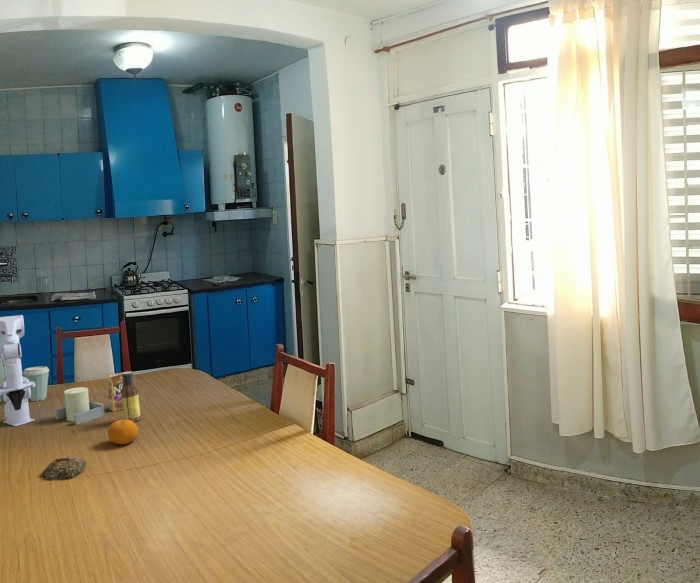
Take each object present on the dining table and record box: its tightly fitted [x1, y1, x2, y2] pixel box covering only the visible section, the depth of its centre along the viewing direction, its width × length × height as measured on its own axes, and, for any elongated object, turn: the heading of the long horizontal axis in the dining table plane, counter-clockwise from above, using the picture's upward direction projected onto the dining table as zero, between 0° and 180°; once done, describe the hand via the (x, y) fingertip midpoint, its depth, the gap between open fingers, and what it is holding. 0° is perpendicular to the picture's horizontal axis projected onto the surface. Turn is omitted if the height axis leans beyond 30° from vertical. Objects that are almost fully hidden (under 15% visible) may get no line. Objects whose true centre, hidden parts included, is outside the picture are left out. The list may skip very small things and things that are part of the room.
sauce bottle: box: [121, 371, 141, 423], centre depth 249 cm, size 7×6×20 cm
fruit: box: [107, 418, 139, 445], centre depth 226 cm, size 10×10×8 cm
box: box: [54, 400, 105, 426], centre depth 256 cm, size 14×13×5 cm
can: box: [63, 386, 90, 422], centre depth 256 cm, size 9×9×12 cm
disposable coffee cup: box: [22, 366, 50, 402], centre depth 284 cm, size 11×11×15 cm
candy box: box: [107, 372, 123, 412], centre depth 266 cm, size 9×4×15 cm, turn 134°
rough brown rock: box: [41, 456, 87, 481], centre depth 201 cm, size 13×12×5 cm
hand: (17, 409), depth 239 cm, fingers closed
